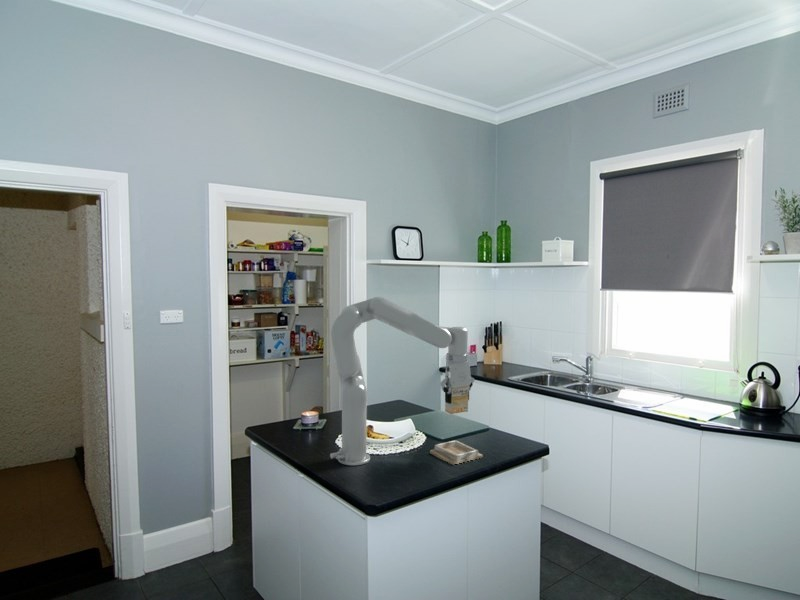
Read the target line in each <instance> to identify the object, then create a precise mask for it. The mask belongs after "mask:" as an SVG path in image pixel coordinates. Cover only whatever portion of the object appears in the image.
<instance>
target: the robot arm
mask: <svg viewBox="0 0 800 600" xmlns="http://www.w3.org/2000/svg"><path fill="white" fill-rule="evenodd" d="M373 320H377V321H380V322H382V323H383V324H386V325H388V326H391V327H393V328H395V329H396V330H399V331H400V332H404V333H405V334H407V335H410V336H412V337H414V338H417V339H419V340H421V341H423V342H425V343H428V344H430V345H432V346H434V347H436V348H439V349H446V348H448V353H447V354H448V355H447V356H446V360H447V362H446V367H445V373H444V374H445V375H444V379H443V380H441V381H440V383H439V386H440V387H441V390H442V391H443V392H444V400H445V401H444V402H446V403H449V404H451V396H452V394H451V393H450V392H451V388H460V387H466V386H469V391H468V401H470V391H471V388H472V387H473V384H474V382H475V378H474V377H472V375H471V373H472V372H471V365H470V362H469V361H468V335H469V332H468V329H467V328H466V327H465V326H464V327H463V326H451V327H449V326H448V327H447V326H441V325H440V326H439V325H437V324H434V323H433V322H430V321H428V320H427V319H425V318H423V317H422V316H420V315H418V314H417V313H415V312H413V311H411V310H409V309H407V308H405V307H403V306H401V305H398V304H397V303H394V302H392V301H390V300H388V299H385V298H384V297H382V296H374V297H372V298H369V299H366V300H363V301H360V302H357V303H353V304H350V305H347V306H346V307H344V308H343V309H342V310H341V313H340V314H339V315H338V316H337V317H336V318H335V320H334V321H333V324H332V327H331V330H330V331H331V332H330V338H331V343H332V344H331V345H332V347H333V354H334V359H335V367H336V370H337V372H338V373H337V374H338V377H339V381H340V385H341V387H340V388H341V447H340V448H339V450H337V452H331V453H330V454H329V457H330V459H336V460H338V462H339V463H340V464H342V465H346V466H360V465H361V466H362V465H365V464H367V463H369V462H370V460H371V455H370V454H369V453H368V452H367V409H368V408H367V406H368V405H367V404H368V390H367V386H366V383H365V379H364V375H363V370H362V364H361V360H360V357H359V354H358V352H357V348H356V343H355V338H354V337H355V335H354V333H355V331H356V329H358V328H359V327H360V326H361V325H362V324H364V323H367V322H369V321H370V322H371V321H373ZM448 381H449V385H448V384H447V382H448ZM448 387H449V389H448Z"/></svg>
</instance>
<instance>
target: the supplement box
mask: <svg viewBox="0 0 800 600" xmlns="http://www.w3.org/2000/svg"><path fill="white" fill-rule="evenodd" d="M447 384H448V385H449V381H448V382H447ZM448 389H449V387H448ZM468 391H469V392H470V390H469V386H466V387H460V388H451V392H450V393H451V394H452V396H451V404H449V403H446V402H445V401H444V402H445V404H444V405H445V407H444V408H445V409H444V411H445V412H446V413H448V414H450V415H453V414H460V413H465V412H468V411H469V400H468Z"/></svg>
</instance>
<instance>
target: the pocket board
mask: <svg viewBox="0 0 800 600" xmlns="http://www.w3.org/2000/svg"><path fill="white" fill-rule="evenodd" d="M429 454H431V455H433V456H434V457H436V458H437V459H440V460H442V461H444V462H445V461H446V462H445V463H447V462H448V464H449V463H450V464H449V465H451V464H453V465H454V464H458V465H460V464H459V463H462V464H464V463H463V462H465V463H468V462H467V461H469V462H471V461H470V460H473V461H476V460H475V459H477V460H480V459H483V458H484V455H483V454H482V453H480V452H479V450H478V449H475V448H474V447H471V446H470V445H467V444H465V443H463V442H460V441H459V440H451V441H450V440H449V441H447V442H442V443H438V444H435V445H434V448H433V449H430V450H429ZM482 457H483V458H482ZM479 458H480V459H479ZM453 465H452V466H453ZM454 466H455V465H454Z"/></svg>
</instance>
